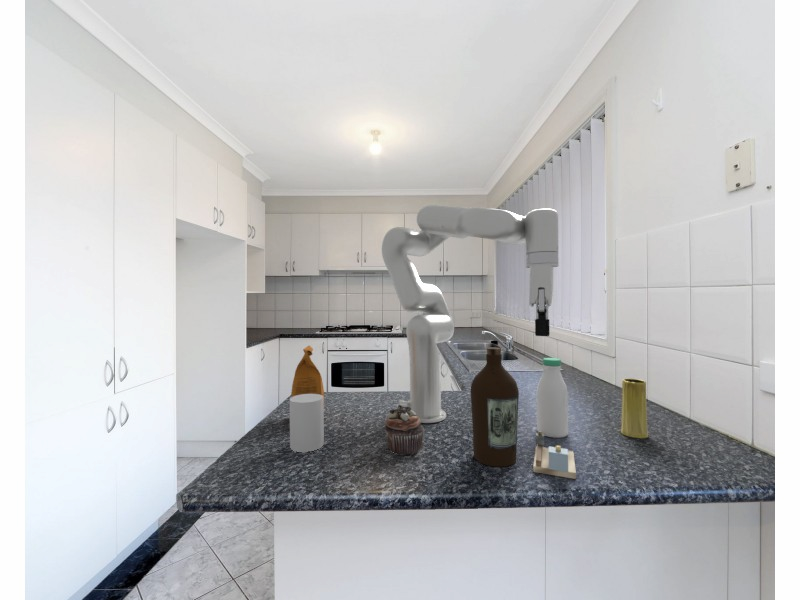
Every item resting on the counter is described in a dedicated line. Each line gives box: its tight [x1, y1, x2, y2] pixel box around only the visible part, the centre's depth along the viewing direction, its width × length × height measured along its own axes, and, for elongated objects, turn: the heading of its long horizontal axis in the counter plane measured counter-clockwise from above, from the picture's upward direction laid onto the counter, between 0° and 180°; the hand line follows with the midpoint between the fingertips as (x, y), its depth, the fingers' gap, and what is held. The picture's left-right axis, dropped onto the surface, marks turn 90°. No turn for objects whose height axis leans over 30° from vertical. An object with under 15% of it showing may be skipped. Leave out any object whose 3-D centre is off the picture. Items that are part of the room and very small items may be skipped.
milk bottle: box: [536, 357, 569, 439], centre depth 97 cm, size 8×8×20 cm
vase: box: [620, 378, 649, 439], centre depth 96 cm, size 6×6×14 cm
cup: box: [289, 394, 325, 452], centre depth 90 cm, size 8×8×12 cm
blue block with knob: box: [548, 445, 569, 472], centre depth 74 cm, size 4×3×4 cm
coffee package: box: [290, 345, 325, 409], centre depth 109 cm, size 10×12×22 cm
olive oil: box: [470, 346, 520, 468], centre depth 82 cm, size 11×11×25 cm
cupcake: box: [384, 404, 425, 455], centre depth 88 cm, size 10×10×10 cm
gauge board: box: [532, 431, 577, 480], centre depth 79 cm, size 8×11×5 cm
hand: (542, 335), depth 89 cm, fingers closed
